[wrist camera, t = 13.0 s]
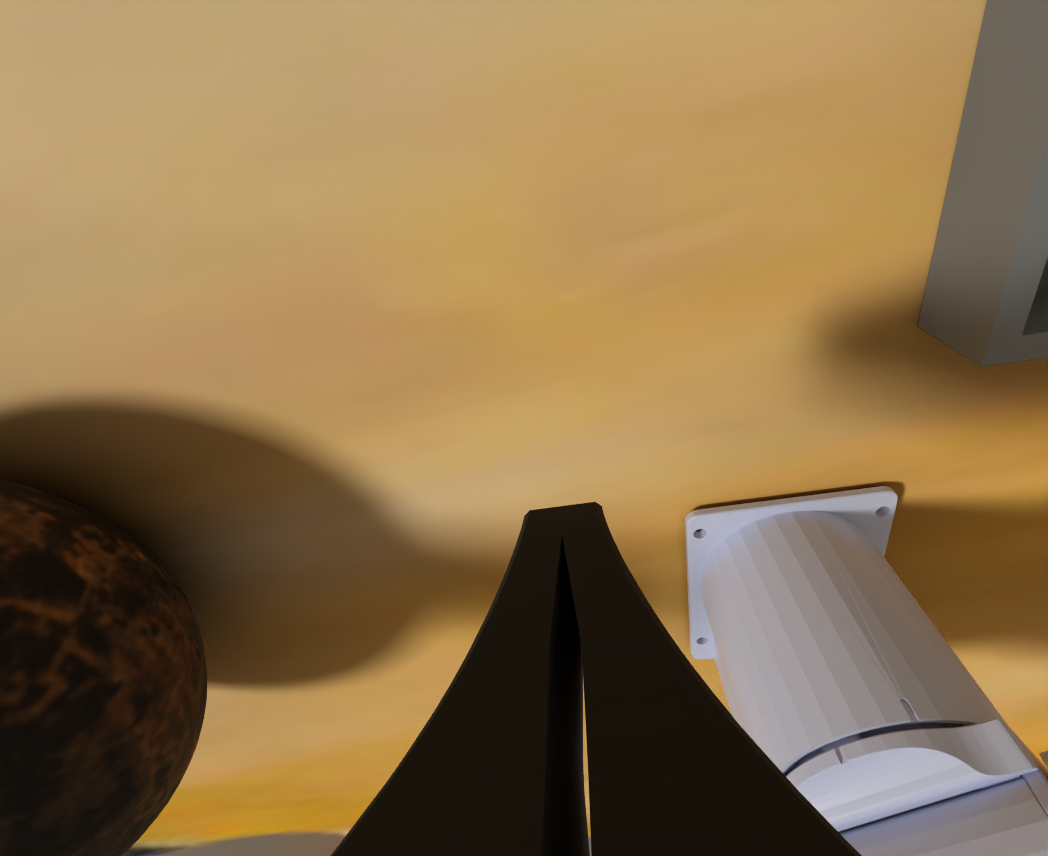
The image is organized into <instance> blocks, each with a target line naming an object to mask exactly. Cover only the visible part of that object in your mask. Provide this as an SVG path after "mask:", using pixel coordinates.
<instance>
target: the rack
mask: <svg viewBox="0 0 1048 856" xmlns="http://www.w3.org/2000/svg"><path fill="white" fill-rule="evenodd" d="M917 327H919V328H921V329H922V330H924V331H925V332H927V333H929V334H930V335H932V336H933V337H935V338H937V339H938V340H940V341H941V342H943V343H944V344H946V345H948V346H949V347H951V348H952V349H954V350H956V351H957V352H959V353H960V354H962V355H963V356H965V357H967V358H968V359H970V360H971V361H973V362H975V363H976V364H978V365H979V366H981V367H985V366H992V365H999V364H1006V363H1012V362H1019V361H1026V360H1033V359H1039V358H1046V357H1048V0H987V3H986V8H985V12H984V17H983V22H982V26H981V31H980V36H979V40H978V45H977V50H976V54H975V59H974V64H973V68H972V73H971V78H970V82H969V87H968V92H967V96H966V101H965V106H964V110H963V115H962V120H961V124H960V129H959V134H958V138H957V143H956V148H955V153H954V157H953V162H952V167H951V171H950V176H949V181H948V185H947V190H946V195H945V199H944V204H943V209H942V213H941V218H940V223H939V227H938V232H937V237H936V241H935V246H934V251H933V255H932V260H931V265H930V269H929V274H928V279H927V283H926V288H925V293H924V297H923V302H922V307H921V311H920V316H919V321H918V325H917Z"/></svg>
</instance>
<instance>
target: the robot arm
mask: <svg viewBox="0 0 1048 856" xmlns="http://www.w3.org/2000/svg"><path fill="white" fill-rule="evenodd" d="M897 502H898V495H897V494H896V493H895V492H894V490H893V489H892V488H890V487H888V486H880V487H872V488H864V489H856V490H848V491H840V492H832V493H824V494H816V495H809V496H801V497H793V498H785V499H777V500H769V501H761V502H753V503H745V504H738V505H730V506H722V507H714V508H706V509H698V510H694V511H692V512H690V513H688V515H687V516H686V518H685V533H686V558H687V584H688V609H689V635H690V650H691V654H692V656H693V657H694V658H696V659H711V658H714V659H715V662H716V665H717V669H718V672H719V675H720V678H721V681H722V685H723V688H724V691H725V694H726V698H727V701H728V704H729V707H730V710H731V714H732V715H731V714H730V713H729V711H728V710H727V709H726V708H725V707H724V705H723V704H722V703H721V702H720V700H719V699H718V698H717V697H716V696H715V694H714V693H713V692H712V691H711V689H710V688H709V687H708V686H707V684H706V683H705V682H704V680H703V679H702V678H701V677H700V675H699V674H698V673H697V671H696V670H695V669H694V668H693V666H692V665H691V664H690V662H689V661H688V660H687V658H686V657H685V655H684V654H683V653H682V651H681V650H680V649H679V647H678V646H677V644H676V643H675V642H674V640H673V639H672V637H671V636H670V634H669V633H668V631H667V630H666V628H665V627H664V626H663V624H662V623H661V621H660V620H659V618H658V617H657V615H656V614H655V612H654V611H653V609H652V607H651V606H650V604H649V603H648V601H647V600H646V598H645V596H644V595H643V593H642V591H641V590H640V588H639V586H638V584H637V583H636V581H635V579H634V578H633V576H632V574H631V573H630V571H629V569H628V567H627V565H626V564H625V562H624V560H623V558H622V556H621V554H620V552H619V550H618V548H617V546H616V544H615V542H614V540H613V537H612V535H611V533H610V530H609V528H608V525H607V523H606V520H605V517H604V514H603V510H602V506H601V505H599V504H598V503H596V502H591V503H583V504H575V505H568V506H560V507H553V508H545V509H537V510H530V511H529V512H528V513H527V514H526V515H525V516H524V520H523V524H522V528H521V531H520V534H519V537H518V540H517V543H516V546H515V549H514V552H513V555H512V557H511V560H510V563H509V565H508V568H507V570H506V573H505V575H504V577H503V580H502V582H501V584H500V587H499V589H498V591H497V594H496V596H495V598H494V601H493V603H492V605H491V608H490V610H489V612H488V614H487V616H486V618H485V620H484V622H483V624H482V626H481V628H480V630H479V632H478V634H477V636H476V638H475V640H474V642H473V644H472V646H471V648H470V650H469V652H468V654H467V656H466V658H465V659H464V661H463V663H462V665H461V667H460V669H459V670H458V672H457V674H456V676H455V677H454V679H453V681H452V683H451V684H450V686H449V688H448V689H447V691H446V693H445V694H444V696H443V698H442V699H441V701H440V703H439V704H438V706H437V708H436V709H435V711H434V713H433V714H432V716H431V717H430V719H429V720H428V722H427V723H426V725H425V726H424V728H423V729H422V731H421V732H420V734H419V736H418V737H417V739H416V740H415V742H414V743H413V745H412V746H411V748H410V749H409V751H408V752H407V754H406V755H405V757H404V758H403V760H402V761H401V762H400V764H399V765H398V767H397V768H396V770H395V771H394V773H393V774H392V775H391V777H390V778H389V780H388V781H387V782H386V784H385V785H384V786H383V788H382V789H381V790H380V792H379V793H378V794H377V796H376V797H375V798H374V800H373V801H372V802H371V804H370V805H369V806H368V807H367V809H366V810H365V811H364V813H363V814H362V815H361V817H360V818H359V819H358V821H357V822H356V823H355V825H354V826H353V827H352V829H351V830H350V831H349V833H348V834H347V835H346V837H345V838H344V839H343V840H342V842H341V843H340V845H339V846H338V847H337V848H336V850H335V851H334V852H333V853H332V855H331V856H590V854H589V842H588V830H587V818H586V806H585V794H584V774H583V679H584V697H585V714H586V735H587V755H588V775H589V800H590V825H591V847H592V848H591V850H592V856H1048V769H1047V768H1048V751H1045V752H1042V753H1039V754H1040V756H1041V758H1042V760H1043V762H1044V763H1045V765H1046V766H1047V768H1046V767H1045V766H1044V765H1043V764H1042V763H1041V761H1040V760H1039V759H1038V758H1037V757H1036V756H1035V755H1034V754H1033V753H1032V752H1031V750H1030V749H1029V748H1028V747H1027V746H1026V745H1025V744H1024V743H1023V742H1022V740H1021V739H1020V738H1019V737H1018V736H1017V735H1016V734H1015V733H1014V732H1013V731H1012V729H1011V728H1010V727H1009V726H1008V725H1007V723H1006V722H1005V721H1004V719H1003V718H1002V717H1001V715H1000V714H999V712H998V711H997V710H996V708H995V707H994V706H993V704H992V703H991V702H990V700H989V699H988V698H987V696H986V695H985V694H984V692H983V691H982V689H981V688H980V687H979V685H978V684H977V683H976V681H975V680H974V679H973V677H972V676H971V675H970V673H969V672H968V670H967V669H966V668H965V666H964V665H963V664H962V662H961V661H960V660H959V658H958V657H957V656H956V654H955V653H954V651H953V650H952V649H951V647H950V646H949V645H948V643H947V642H946V641H945V639H944V638H943V637H942V635H941V634H940V633H939V631H938V630H937V628H936V627H935V626H934V624H933V623H932V622H931V620H930V619H929V618H928V616H927V615H926V614H925V612H924V611H923V609H922V608H921V607H920V605H919V604H918V603H917V601H916V600H915V599H914V597H913V596H912V595H911V593H910V592H909V591H908V589H907V588H906V586H905V585H904V584H903V582H902V581H901V580H900V578H899V577H898V576H897V574H896V573H895V572H894V570H893V569H892V567H891V566H890V565H889V563H888V562H887V561H886V559H885V558H884V556H885V552H886V548H887V544H888V540H889V535H890V531H891V527H892V523H893V518H894V514H895V510H896V506H897ZM880 507H882V508H880ZM879 508H880V509H879ZM877 509H878V510H877ZM698 529H702V530H701V531H698V532H695V531H696V530H698Z"/></svg>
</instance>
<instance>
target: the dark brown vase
mask: <svg viewBox="0 0 1048 856" xmlns="http://www.w3.org/2000/svg"><path fill="white" fill-rule="evenodd" d="M206 699H207V670H206V661H205V655H204V646H203V641H202V638H201V634H200V629H199V627H198V624H197V622H196V619H195V616H194V614H193V612H192V610H191V607H190V605H189V603H188V601H187V599H186V596H185V595H184V594H183V592H182V591H181V589H180V588H179V586H178V585H177V583H176V582H175V580H174V579H173V578H172V576H171V575H170V573H169V572H168V571H167V570H166V569H165V568H164V567H163V566H162V565H161V563H160V562H159V561H158V559H157V558H155V557H154V556H153V555H152V554H151V553H150V552H148V550H146V549H145V548H144V547H143V546H142V545H141V544H139V543H138V542H137V541H136V540H134V539H133V538H132V537H130V536H129V535H127V534H126V533H125V532H124V531H122V530H121V529H119V528H118V527H116V526H114V525H113V524H111V523H110V522H108V521H106V520H105V519H103V518H101V517H99V516H97V515H95V514H94V513H92V512H90V511H89V510H87V509H84V508H82V507H80V506H78V505H76V504H73V503H71V502H69V501H67V500H64V499H62V498H60V497H57V496H55V495H52V494H50V493H47V492H44V491H41V490H38V489H35V488H31V487H28V486H25V485H22V484H19V483H14V482H9V481H5V480H1V479H0V856H121V855H123V854H124V853H125V852H126V851H127V850H128V849H129V848H130V847H131V846H132V845H133V844H134V843H135V842H136V841H137V840H138V839H139V838H140V837H141V836H142V835H143V833H144V832H145V831H146V830H147V829H148V827H149V826H150V825H151V824H152V823H153V821H154V820H155V819H156V818H157V817H158V815H159V814H160V812H161V811H162V810H163V809H164V807H165V806H166V805H167V803H168V802H169V800H170V798H171V797H172V795H173V793H174V792H175V790H176V789H177V787H178V785H179V784H180V782H181V780H182V778H183V776H184V774H185V772H186V770H187V767H188V765H189V763H190V761H191V759H192V756H193V753H194V751H195V749H196V746H197V743H198V740H199V736H200V732H201V728H202V724H203V719H204V714H205V707H206Z"/></svg>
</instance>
